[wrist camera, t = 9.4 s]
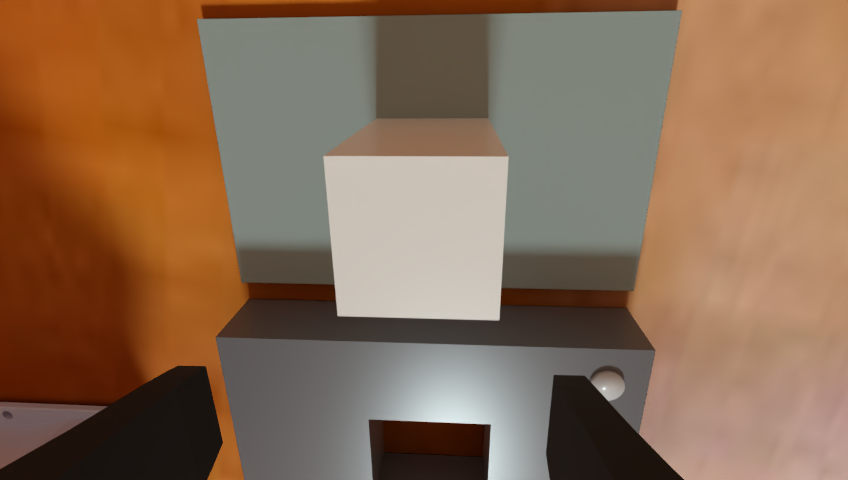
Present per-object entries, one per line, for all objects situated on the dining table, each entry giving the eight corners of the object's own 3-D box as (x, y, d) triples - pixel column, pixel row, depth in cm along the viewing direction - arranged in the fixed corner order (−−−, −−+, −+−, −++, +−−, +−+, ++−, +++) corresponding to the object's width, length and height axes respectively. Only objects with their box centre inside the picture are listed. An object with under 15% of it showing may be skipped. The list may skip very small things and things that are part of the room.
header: (282, 499, 24) (258, 560, 22) (249, 298, 20) (213, 340, 17) (591, 516, 23) (611, 583, 20) (626, 307, 19) (657, 353, 16)
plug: (380, 223, 18) (337, 316, 12) (376, 118, 17) (323, 155, 10) (484, 225, 18) (499, 320, 11) (488, 118, 16) (508, 156, 10)
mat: (245, 278, 20) (241, 282, 19) (202, 20, 16) (197, 19, 16) (630, 286, 19) (633, 290, 18) (676, 11, 15) (682, 10, 15)
